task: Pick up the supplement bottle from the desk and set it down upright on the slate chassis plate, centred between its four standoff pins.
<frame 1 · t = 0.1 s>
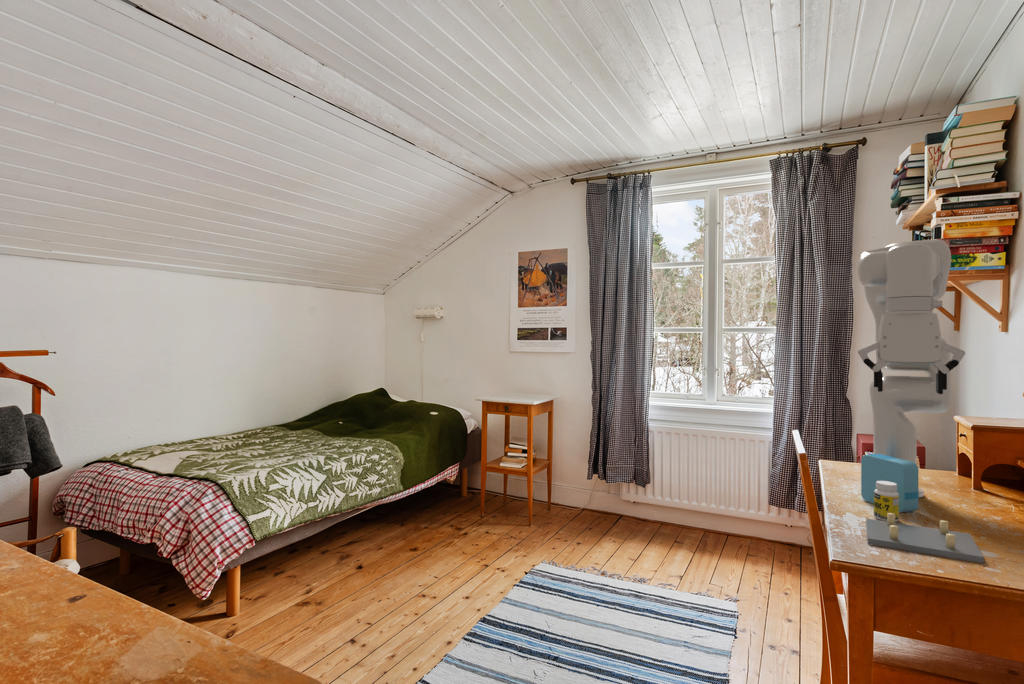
hand: (909, 392, 108), 31 cm above the table, fingers open, 9 cm apart
supplement bottle: (886, 519, 125), on the table
chassis plate: (919, 541, 111), on the table
data package: (888, 506, 134), on the table
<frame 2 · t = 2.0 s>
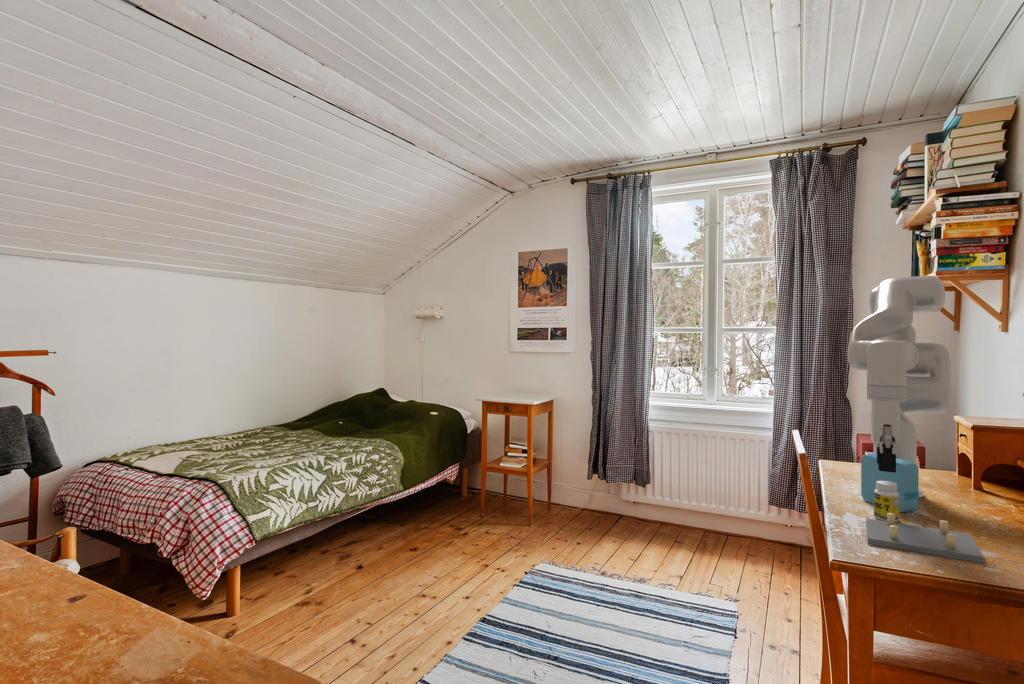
hand: (886, 467, 124), 12 cm above the table, fingers open, 9 cm apart
nothing on the table moved.
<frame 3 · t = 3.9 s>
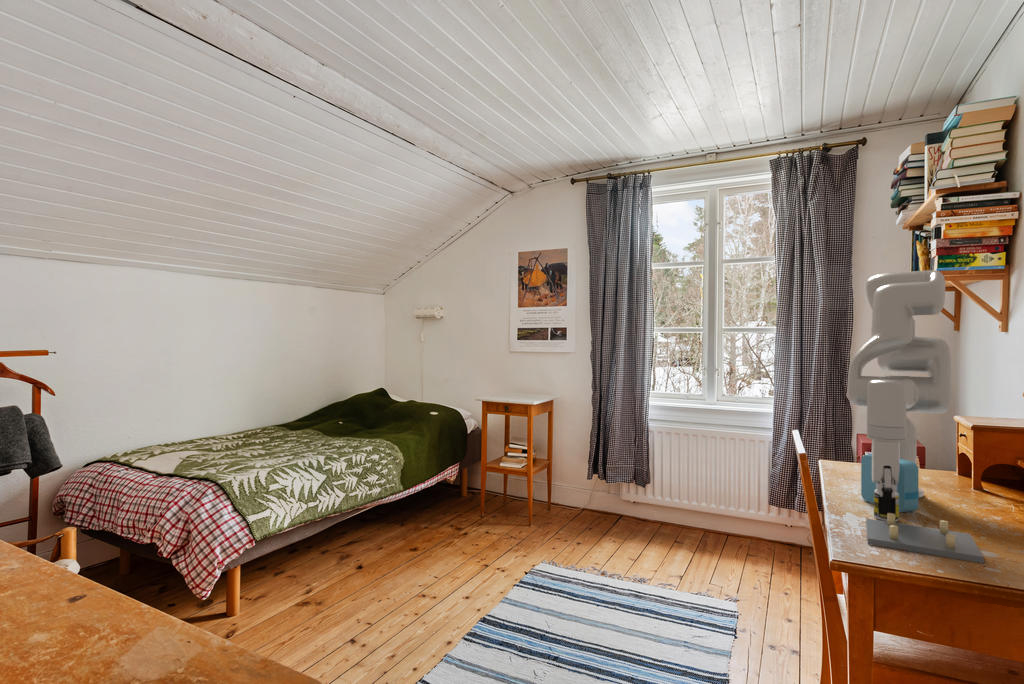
hand: (886, 510, 125), 2 cm above the table, fingers closed on supplement bottle, 4 cm apart
supplement bottle: (886, 519, 125), on the table, touching gripper
everything else where it was.
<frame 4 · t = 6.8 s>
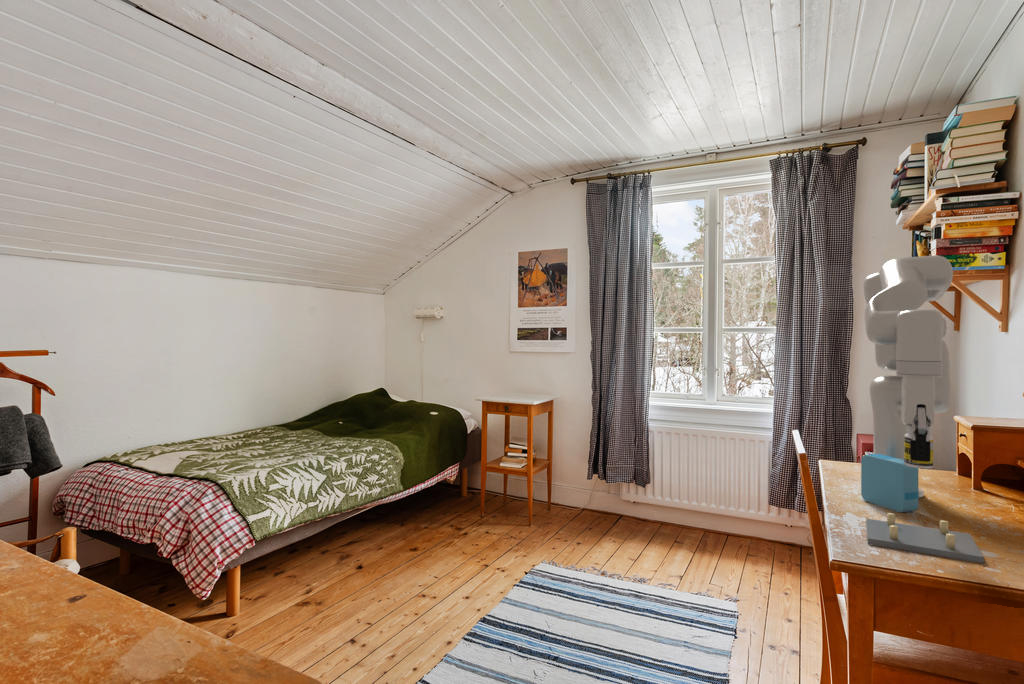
hand: (918, 457, 111), 17 cm above the table, fingers closed on supplement bottle, 4 cm apart
supplement bottle: (918, 467, 111), point 15 cm above the table, touching gripper
everything else where it was.
when the fingers open (4 cm above the table, at t = 10.0 s): supplement bottle drops 1 cm, resting on chassis plate.
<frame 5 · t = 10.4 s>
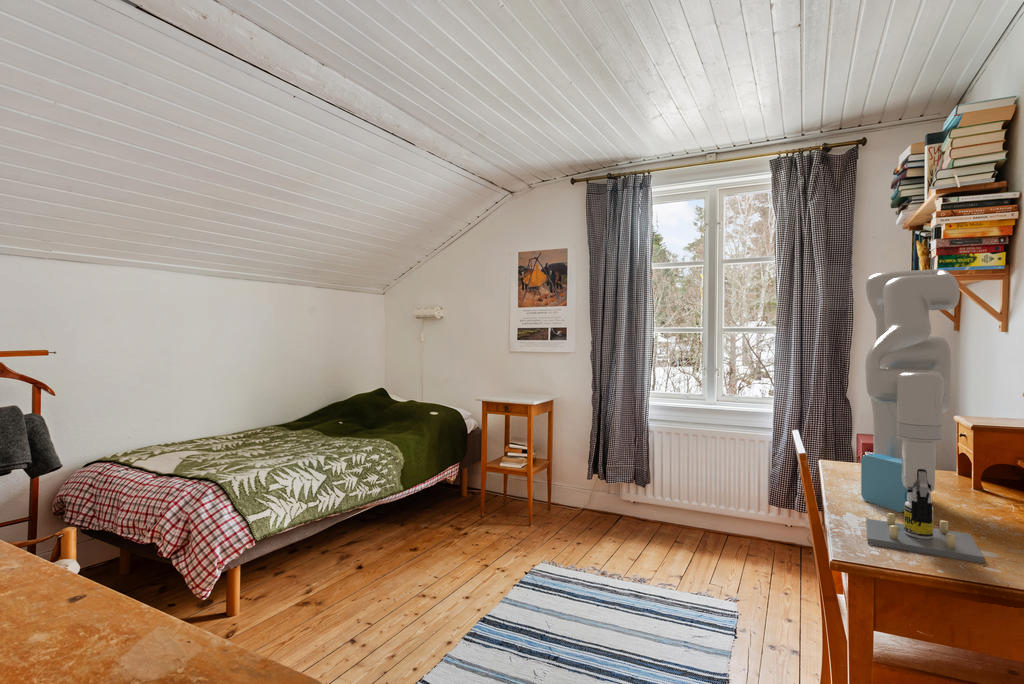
hand: (919, 515, 111), 5 cm above the table, fingers open, 9 cm apart
supplement bottle: (918, 536, 111), point 1 cm above the table, touching chassis plate
everything else where it was.
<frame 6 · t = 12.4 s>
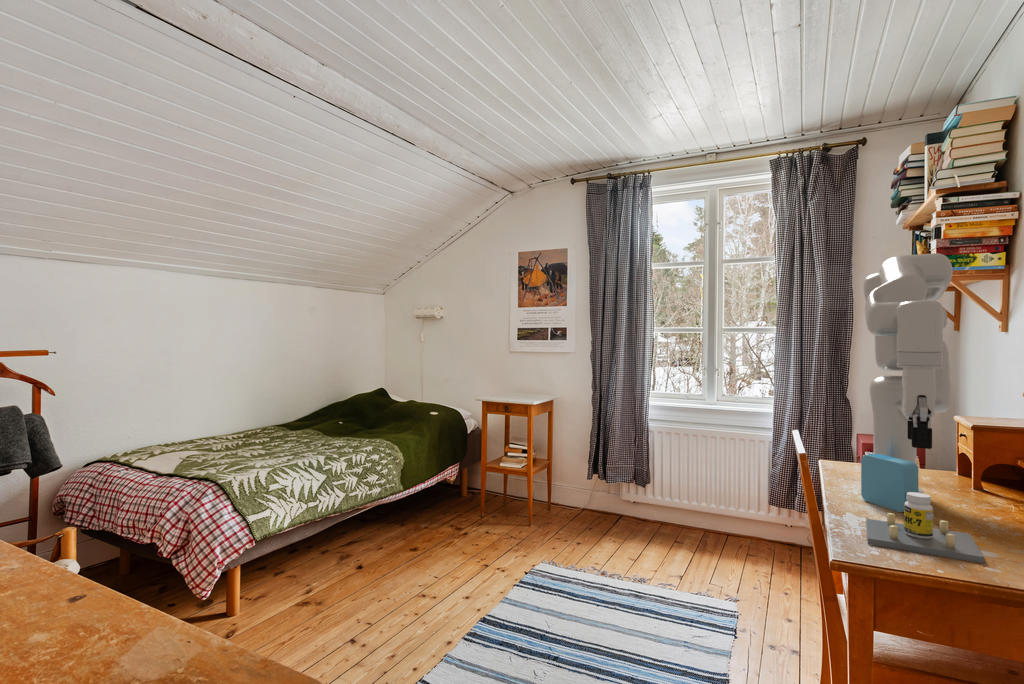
hand: (919, 443, 111), 20 cm above the table, fingers open, 9 cm apart
nothing on the table moved.
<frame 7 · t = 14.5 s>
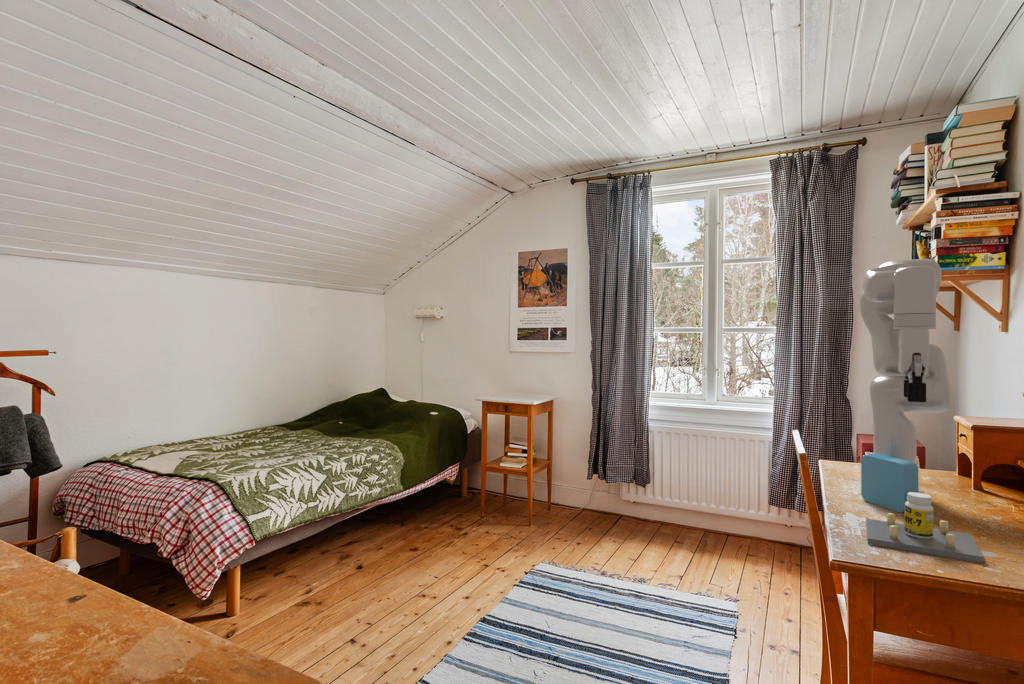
hand: (914, 399, 119), 28 cm above the table, fingers open, 9 cm apart
nothing on the table moved.
at the end: supplement bottle 0.3 cm off-centre on the chassis plate, point 1.0 cm above the chassis plate's base; supplement bottle tilted 1°; the gripper is holding nothing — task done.
